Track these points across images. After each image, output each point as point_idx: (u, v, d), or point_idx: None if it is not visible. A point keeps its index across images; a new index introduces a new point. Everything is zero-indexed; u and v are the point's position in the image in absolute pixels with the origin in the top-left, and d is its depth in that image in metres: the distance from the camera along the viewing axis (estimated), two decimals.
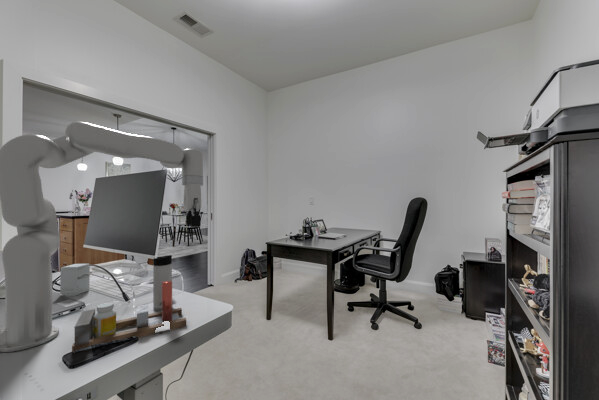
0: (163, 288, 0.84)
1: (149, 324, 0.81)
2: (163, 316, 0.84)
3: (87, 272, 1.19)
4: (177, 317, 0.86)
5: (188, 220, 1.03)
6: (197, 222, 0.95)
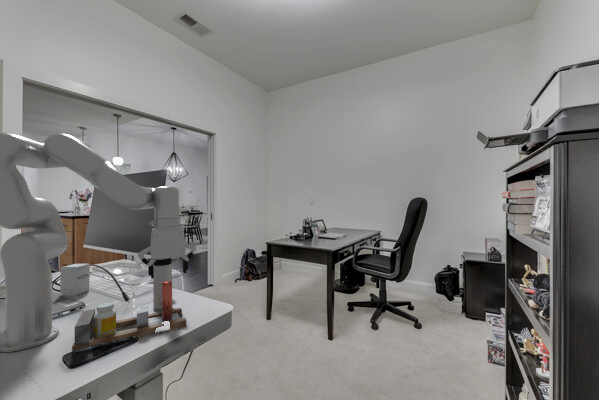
0: (163, 288, 0.84)
1: (149, 324, 0.81)
2: (163, 316, 0.84)
3: (87, 272, 1.19)
4: (177, 317, 0.86)
5: None
6: None
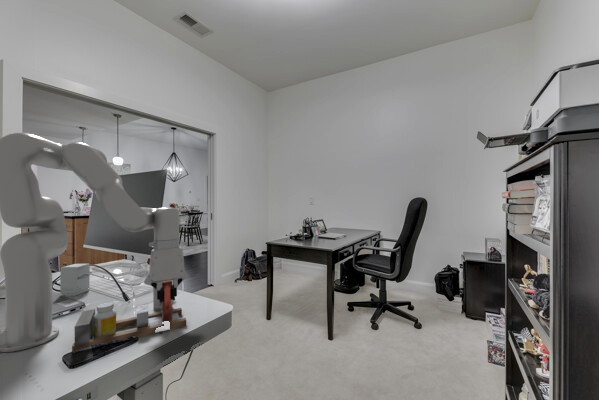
0: (163, 288, 0.84)
1: (149, 324, 0.81)
2: (163, 316, 0.84)
3: (87, 272, 1.19)
4: (177, 317, 0.86)
5: None
6: None
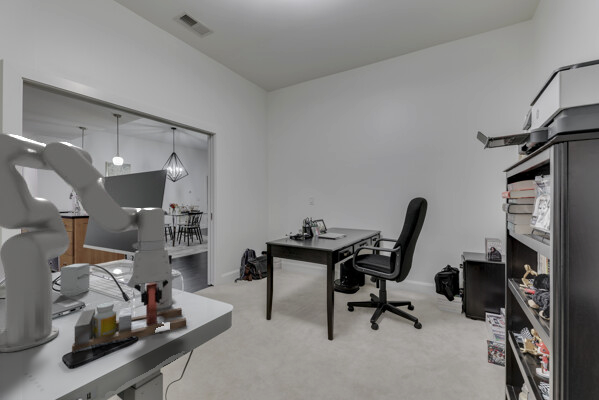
0: (147, 291, 0.82)
1: (132, 328, 0.79)
2: (147, 319, 0.82)
3: (87, 272, 1.19)
4: (162, 320, 0.84)
5: None
6: None
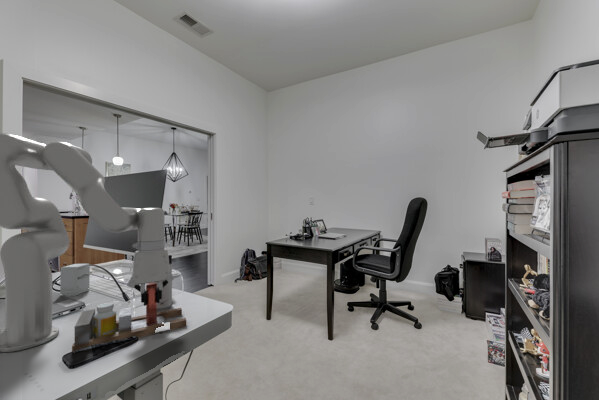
0: (147, 291, 0.82)
1: (132, 328, 0.79)
2: (147, 319, 0.82)
3: (87, 272, 1.19)
4: (162, 320, 0.84)
5: None
6: None
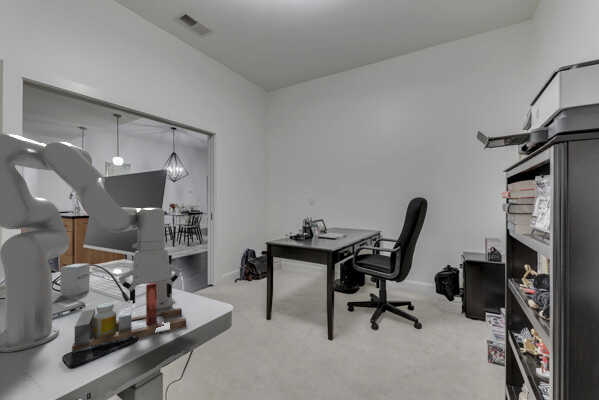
0: (147, 291, 0.82)
1: (132, 328, 0.79)
2: (147, 319, 0.82)
3: (87, 272, 1.19)
4: (162, 320, 0.84)
5: None
6: None
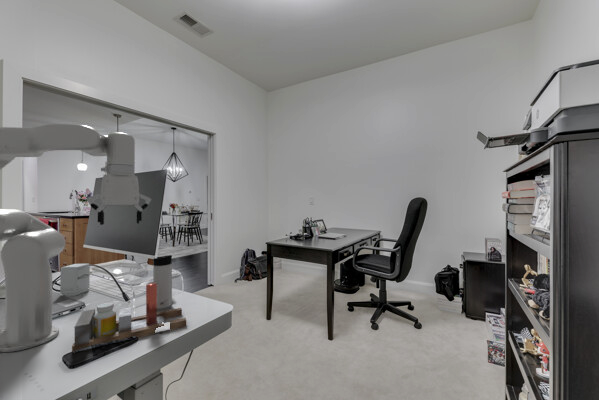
0: (147, 291, 0.82)
1: (132, 328, 0.79)
2: (147, 319, 0.82)
3: (87, 272, 1.19)
4: (162, 320, 0.84)
5: (103, 218, 0.81)
6: None
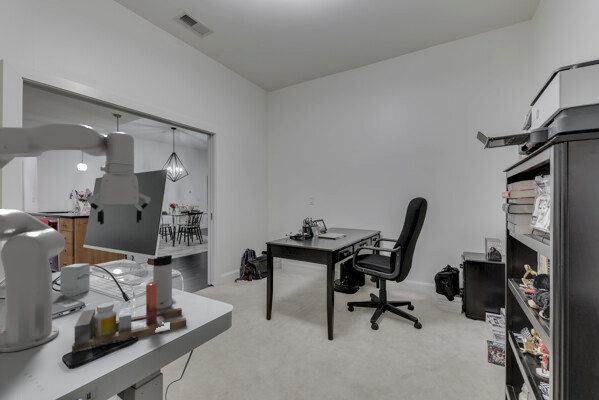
0: (147, 291, 0.82)
1: (132, 328, 0.79)
2: (147, 319, 0.82)
3: (87, 272, 1.19)
4: (162, 320, 0.84)
5: (103, 218, 0.81)
6: None
